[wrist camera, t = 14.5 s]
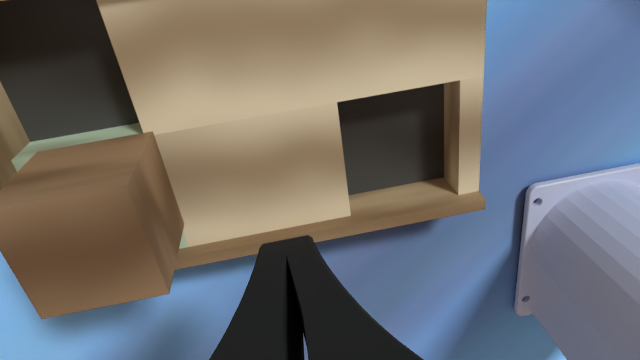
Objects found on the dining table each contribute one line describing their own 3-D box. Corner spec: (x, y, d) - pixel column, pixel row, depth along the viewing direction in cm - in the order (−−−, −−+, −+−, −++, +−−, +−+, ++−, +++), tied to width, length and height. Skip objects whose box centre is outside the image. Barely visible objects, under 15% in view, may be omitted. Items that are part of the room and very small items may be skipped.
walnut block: (184, 223, 20) (169, 293, 16) (81, 243, 20) (41, 319, 16) (152, 131, 18) (126, 186, 14) (37, 151, 18) (-23, 213, 14)
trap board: (461, 181, 24) (492, 218, 21) (71, 256, 23) (43, 307, 19) (466, -95, 18) (513, -101, 15) (-67, -11, 16) (-138, 1, 13)
